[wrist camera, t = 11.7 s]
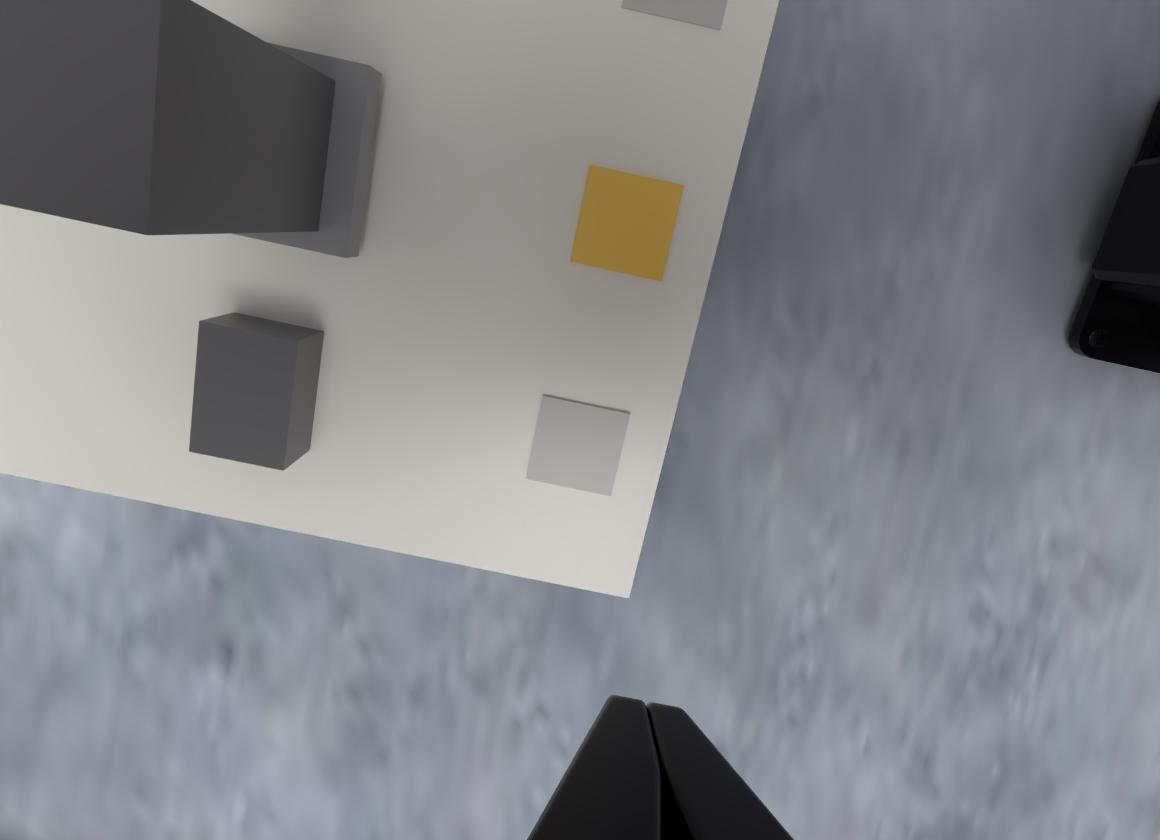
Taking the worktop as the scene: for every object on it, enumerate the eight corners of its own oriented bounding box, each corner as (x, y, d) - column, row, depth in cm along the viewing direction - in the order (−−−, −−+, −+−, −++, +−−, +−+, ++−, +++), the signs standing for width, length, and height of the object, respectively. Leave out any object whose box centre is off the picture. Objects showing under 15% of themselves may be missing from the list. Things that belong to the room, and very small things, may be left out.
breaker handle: (381, 73, 15) (217, -44, 8) (358, 256, 16) (194, 278, 9) (220, 37, 15) (-73, -110, 8) (206, 224, 15) (-68, 222, 9)
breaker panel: (792, -144, 16) (864, -276, 12) (623, 546, 21) (631, 631, 16) (24, -327, 16) (-191, -535, 12) (14, 422, 20) (-145, 477, 16)
